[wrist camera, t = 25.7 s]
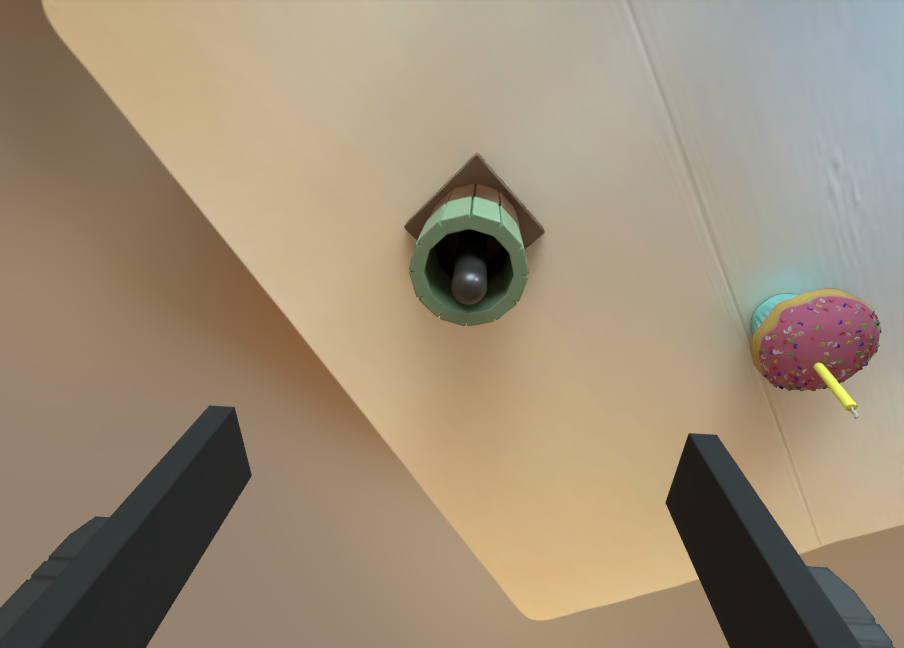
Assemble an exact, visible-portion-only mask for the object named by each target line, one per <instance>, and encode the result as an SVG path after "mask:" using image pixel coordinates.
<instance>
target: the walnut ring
mask: <svg viewBox="0 0 904 648" xmlns="http://www.w3.org/2000/svg"><path fill="white" fill-rule="evenodd" d="M466 197H472V200H473V198H474V197H478V198H482V199H485V200H488V201H491V202H495V203H498V206H502V207H503V208H504V209H505V210H506V212H507V213H508V214H509V215H510V216H511V217H512V218H513V219H514V220H515V222H516V223H517V226H518V227H519V230H520V225H519V222H518V218H517V214H516V211H515V210H514V207H513V205H512V204H511V203H510V202H509V201H508V200H507V199H506V198H505V196H504V195H503V194H502V193H501V192H499V193H498V190H496V189H493V188H490V187H487V186H484V185H480V184H477V185H476V187H475V184H470V185H466V186H462V187H457V188H454V189H453V191H452V190H450V191H449V192H448V193H447V194H446V195H445V196H444V197H443V198H442V199H441V200H440V201H439V202H438V203H437V204H436V206H435V207H434V209H433V211H432V214H431V216H432V215H433V214H434V213H435V212H436V211H437V210H438V209H439V208H440V207H441V206H442V205H443V204H446V205H447V202H449V201H454V200H458V199H462V198H466ZM431 216H430V217H431ZM520 234H521V230H520ZM521 238H522V236H521ZM522 242H523V241H522ZM433 251H434V255H435V258H436V262H437V266H438V267H439V268H440V269H441V270H442V271H443V272H444V273H445V274H446V275H447V276H448V277H449V278H450V279H452V278H453V273H454V267H455V262H456V257H455V256H454V254H453V253H452V252H451V251H450V250H449V249H448V248H447V247H446V246H445V245H444V242H443V238H442V239H441V240H440V241H439V242H438V243H437V244H436V245H435V246H434V247H433ZM507 256H508V251H507V250H506V249H505V248H504V247H503V246H502V248H501V249H499V250H498V251H497V252H496V253H495V254H494V255H493V256H491V257H490V258H489V259H487V281H489V280H490V279H491V278H492V277H493V276H495V275H496V274H497V273H498V272H499V271H501V270H502V269H503V267H504V264H505V261H506V259H507Z"/></svg>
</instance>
